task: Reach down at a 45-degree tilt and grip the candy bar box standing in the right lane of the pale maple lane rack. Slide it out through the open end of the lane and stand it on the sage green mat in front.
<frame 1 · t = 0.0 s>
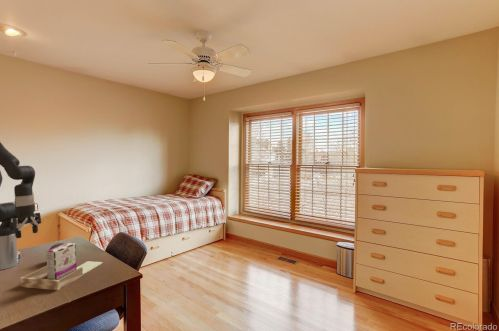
hand: (27, 235, 134), 17 cm above the table, fingers open, 8 cm apart
decorative ball: (59, 261, 143), on the table
candy bar box: (62, 281, 121), resting in lane rack
sage mat: (85, 267, 135), on the table
lane rack: (53, 280, 121), on the table
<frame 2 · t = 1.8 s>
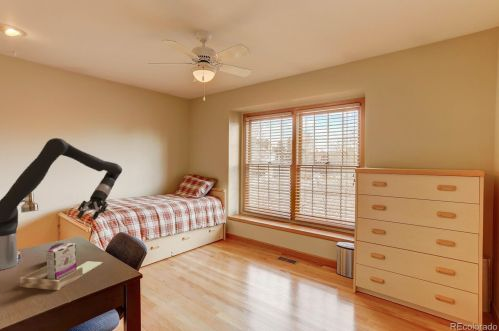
hand: (86, 218, 135), 26 cm above the table, fingers open, 8 cm apart
nothing on the table moved.
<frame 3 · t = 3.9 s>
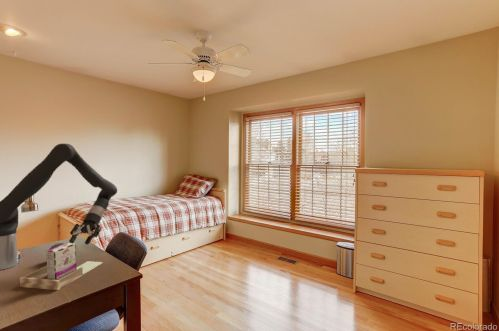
hand: (78, 243, 130), 15 cm above the table, fingers open, 8 cm apart
nothing on the table moved.
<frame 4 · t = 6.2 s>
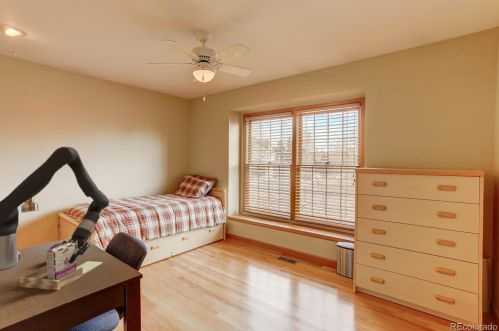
hand: (65, 262, 122), 8 cm above the table, fingers closed on candy bar box, 5 cm apart
candy bar box: (62, 281, 121), resting in lane rack, touching gripper
everything else where it was.
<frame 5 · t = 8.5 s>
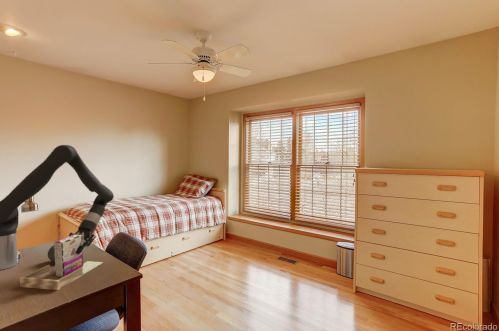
hand: (72, 253, 126), 11 cm above the table, fingers closed on candy bar box, 5 cm apart
candy bar box: (69, 271, 125), point 3 cm above the table, touching gripper
everything else where it was.
when the fingers open (10 cm above the table, at t = 11.0 s): candy bar box drops 1 cm, resting on sage mat.
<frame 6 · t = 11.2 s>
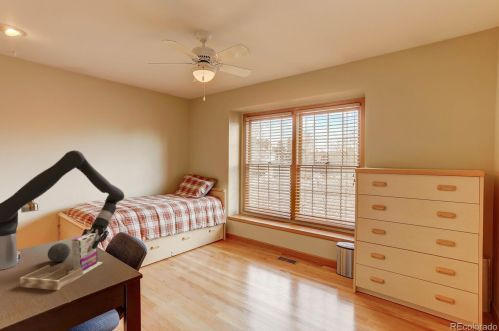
hand: (87, 247, 136), 10 cm above the table, fingers open, 6 cm apart
candy bar box: (85, 267, 135), resting on sage mat
everything else where it was.
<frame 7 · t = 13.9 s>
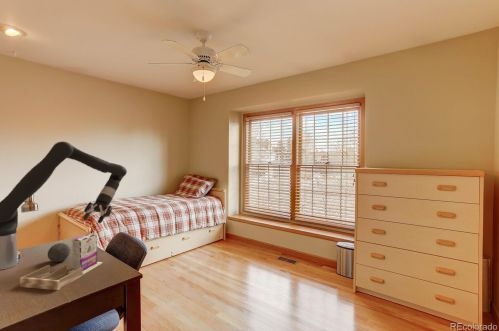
hand: (91, 221, 143), 22 cm above the table, fingers open, 8 cm apart
nothing on the table moved.
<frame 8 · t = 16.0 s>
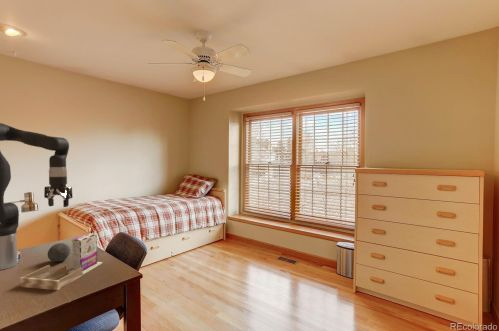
hand: (58, 206, 135), 32 cm above the table, fingers open, 8 cm apart
nothing on the table moved.
at the end: candy bar box inside the target area (1.0 cm from its centre), resting on sage mat; candy bar box tilted 0°; the gripper is holding nothing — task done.
